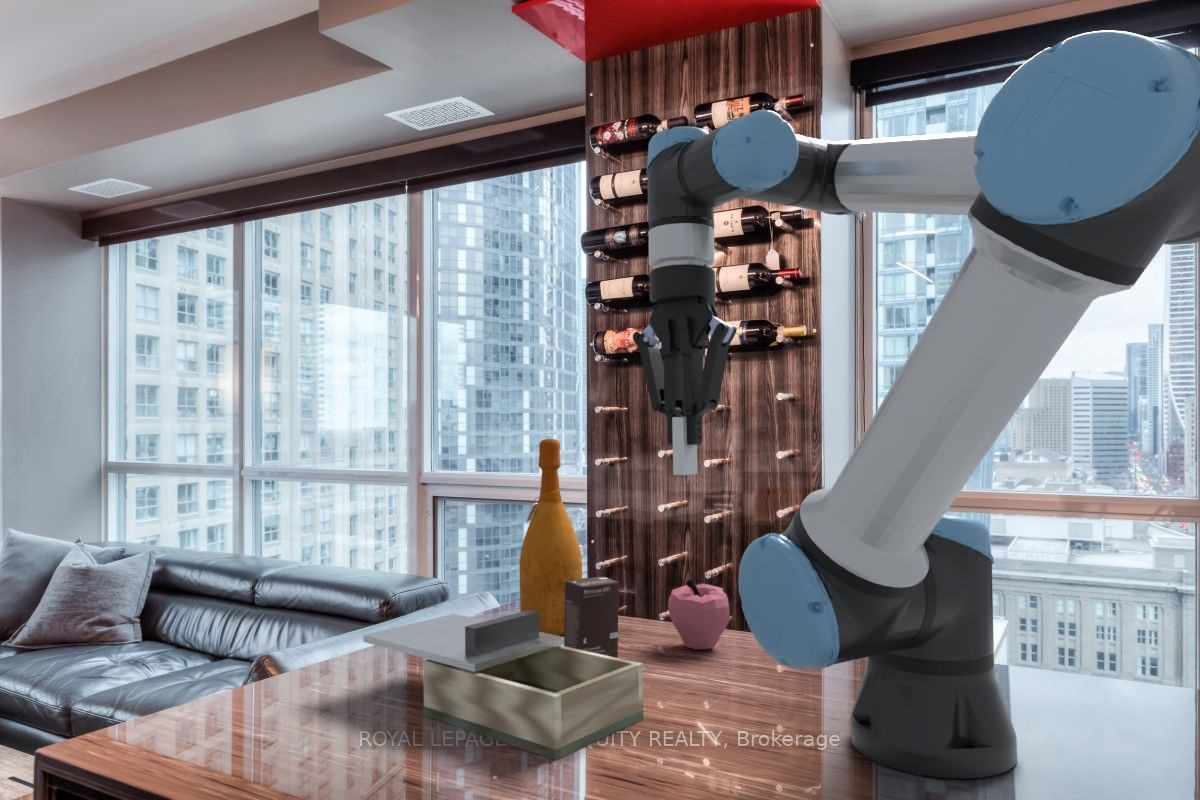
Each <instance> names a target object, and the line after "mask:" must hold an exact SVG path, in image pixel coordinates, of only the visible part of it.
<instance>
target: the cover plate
mask: <svg viewBox="0 0 1200 800" xmlns="http://www.w3.org/2000/svg"><path fill="white" fill-rule="evenodd" d="M362 636H363V637H362V639H363V640H362V641H363V643H365V644H370V645H374V646H378V647H382V648H385V649H389V650H393V651H396V652H399V653H404V654H408V655H411V656H413V657H414V656H415V657H418V658H423V659H426V660H432V661H436V662H440V663H444V664H447V665H451V666H455V667H458V668H462V669H466V670H469V671H473V672H476V671H479V670H483V669H486V668H489V667H492V666H495V665H499V664H502V663H505V662H508V661H511V660H514V659H518V658H521V657H524V656H527V655H530V654H534V653H537V652H540V651H543V650H546V649H550V648H553V647H556V646H559V645H561V646H563V645H564V636H563V635H559V636H557V635H553V634H548V633H543V632H539V612H537V611H531V610H528V611H524V612H521V611H519V612H517V613H513V614H509V615H505V616H501V617H496V618H494V619H489V620H485V619H480V618H475V617H472V616H471V617H470V616H466V615H460V614H457V613H451V614H448V615H442V616H439V617H434V618H431V619H427V620H426V619H425V620H422V621H417V622H414V623H413V622H412V623H409V624H405V625H401V626H397V627H392V628H388V629H384V630H379V631H375V632H371V633H367V634H363V635H362Z"/></svg>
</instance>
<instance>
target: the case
mask: <svg viewBox="0 0 1200 800" xmlns="http://www.w3.org/2000/svg"><path fill="white" fill-rule="evenodd" d="M643 666H644V664H643V663H642V662H637V661H633V660H628V659H624V658H620V657H618V658H615V657H611V656H606V655H602V654H597V653H593V652H588V651H583V650H579V649H574V648H570V647H565V646H564V645H559V646H556V647H553V648H550V649H546V650H543V651H540V652H537V653H534V654H530V655H527V656H524V657H521V658H518V659H514V660H511V661H508V662H505V663H502V664H499V665H495V666H492V667H489V668H486V669H483V670H479V671H476V672H473V671H469V670H466V669H462V668H458V667H455V666H451V665H447V664H444V663H440V662H436V661H432V660H429V659H426V660H423V716H426V717H429V718H431V719H434V720H437V721H440V722H443V723H445V724H449V725H452V726H455V727H458V728H461V729H463V730H467V731H470V732H472V733H475V734H478V735H481V736H484V737H487V738H490V739H493V740H496V741H499V742H502V743H505V744H507V745H509V746H513V747H515V748H516V747H517V748H519V749H522V750H525V751H528V752H530V753H533V754H536V755H539V756H543V757H546V758H548V759H552V760H554V761H557V760H560V759H561V758H564V757H566V756H568V755H570V754H572V753H574V752H576V751H578V750H581V749H583V748H584V747H587V746H589V745H592V744H593V743H595V742H598V741H600V740H601V739H605V738H606V737H608V736H610V735H613V734H614V733H617V732H619V731H621V730H624V729H626V728H628V727H630V726H632V725H634V724H636V723H638V722H641V721H642V720H644V678H643V677H644V672H643V671H644V667H643Z"/></svg>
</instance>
